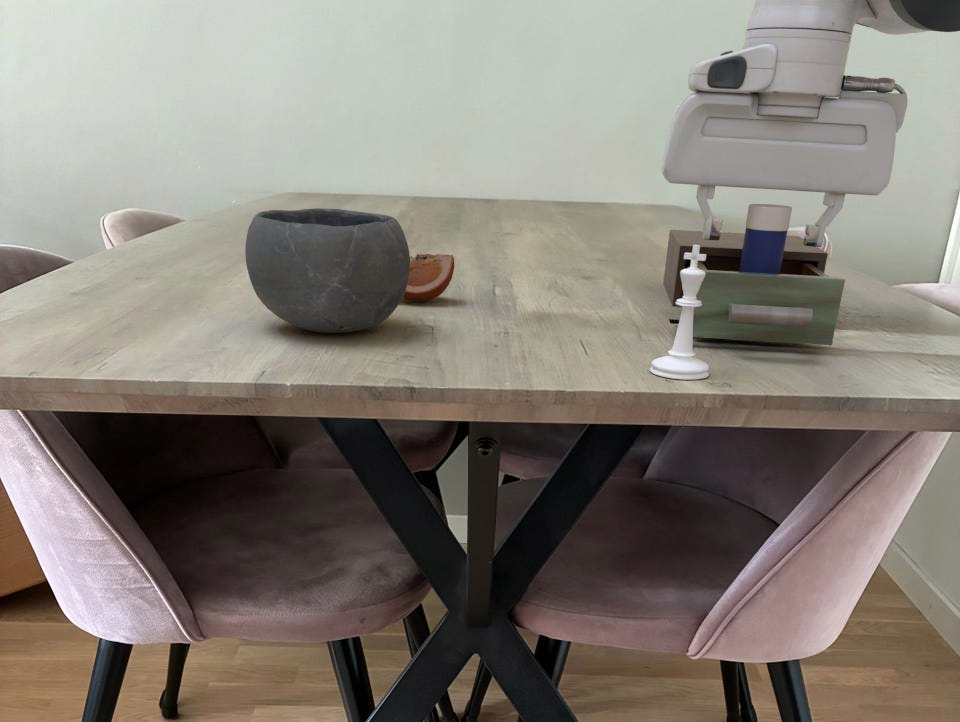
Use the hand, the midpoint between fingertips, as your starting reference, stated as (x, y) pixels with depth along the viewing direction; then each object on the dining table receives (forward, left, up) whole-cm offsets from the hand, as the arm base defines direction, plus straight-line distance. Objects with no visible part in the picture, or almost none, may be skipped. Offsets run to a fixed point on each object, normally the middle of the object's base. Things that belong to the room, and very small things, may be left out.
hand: (760, 242), depth 90 cm
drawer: (0, +1, -8) cm, 8 cm away
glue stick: (0, 0, -7) cm, 7 cm away
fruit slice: (+35, -10, -9) cm, 37 cm away
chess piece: (+8, +17, -9) cm, 20 cm away
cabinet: (0, -13, -9) cm, 16 cm away
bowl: (+40, +8, -9) cm, 41 cm away
